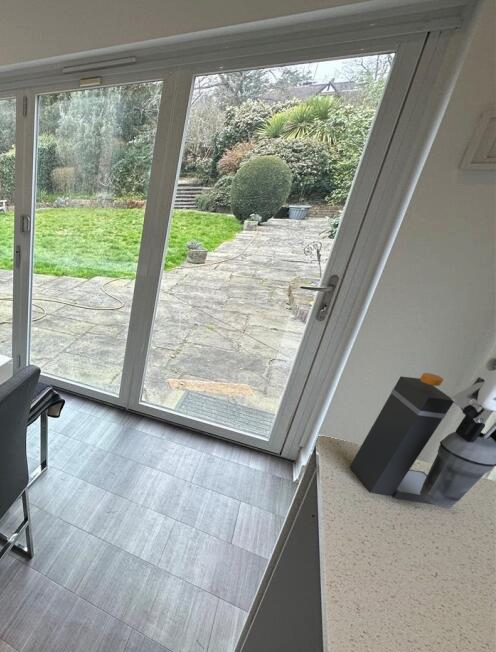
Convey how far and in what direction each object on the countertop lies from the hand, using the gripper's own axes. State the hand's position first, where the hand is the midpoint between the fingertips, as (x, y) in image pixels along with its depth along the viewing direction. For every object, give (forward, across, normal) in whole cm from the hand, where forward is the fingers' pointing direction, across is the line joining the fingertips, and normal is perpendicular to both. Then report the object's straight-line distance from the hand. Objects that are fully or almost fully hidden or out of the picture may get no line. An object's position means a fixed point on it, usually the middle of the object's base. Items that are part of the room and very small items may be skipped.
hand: (480, 438), depth 71 cm
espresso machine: (+20, 0, +9) cm, 22 cm away
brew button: (-6, -4, +9) cm, 12 cm away
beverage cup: (+15, 0, 0) cm, 15 cm away
